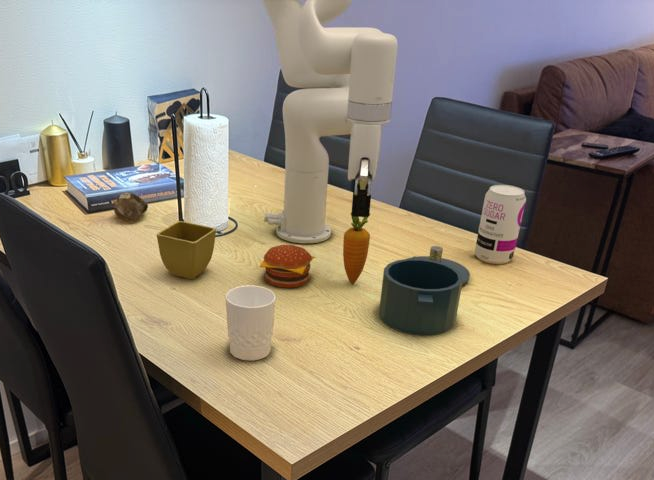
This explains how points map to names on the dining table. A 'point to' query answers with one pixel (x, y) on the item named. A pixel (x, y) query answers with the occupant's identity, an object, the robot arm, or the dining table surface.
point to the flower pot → (186, 248)
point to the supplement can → (500, 224)
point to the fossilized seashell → (129, 207)
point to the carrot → (355, 248)
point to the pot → (420, 296)
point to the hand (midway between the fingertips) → (360, 207)
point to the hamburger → (287, 266)
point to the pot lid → (447, 262)
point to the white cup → (250, 321)
